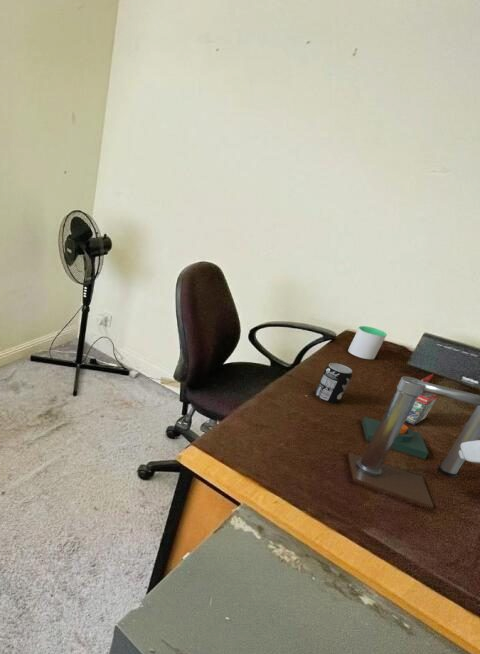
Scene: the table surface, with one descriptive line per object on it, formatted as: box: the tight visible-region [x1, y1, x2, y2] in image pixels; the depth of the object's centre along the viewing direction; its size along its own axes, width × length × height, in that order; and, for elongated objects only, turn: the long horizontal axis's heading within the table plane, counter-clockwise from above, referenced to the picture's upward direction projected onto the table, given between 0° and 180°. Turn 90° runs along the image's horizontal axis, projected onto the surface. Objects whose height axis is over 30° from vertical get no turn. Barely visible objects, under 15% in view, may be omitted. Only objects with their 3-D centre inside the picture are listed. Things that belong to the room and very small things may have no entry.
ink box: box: [405, 373, 439, 426], centre depth 123 cm, size 4×8×15 cm, turn 116°
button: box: [399, 423, 409, 434], centre depth 115 cm, size 4×4×2 cm
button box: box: [361, 416, 429, 460], centre depth 116 cm, size 12×10×4 cm
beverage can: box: [314, 362, 353, 404], centre depth 133 cm, size 7×7×12 cm
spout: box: [396, 376, 480, 479], centre depth 95 cm, size 16×4×21 cm, turn 54°
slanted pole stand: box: [347, 388, 434, 509], centre depth 98 cm, size 14×11×26 cm
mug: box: [347, 325, 387, 360], centre depth 161 cm, size 12×8×10 cm
